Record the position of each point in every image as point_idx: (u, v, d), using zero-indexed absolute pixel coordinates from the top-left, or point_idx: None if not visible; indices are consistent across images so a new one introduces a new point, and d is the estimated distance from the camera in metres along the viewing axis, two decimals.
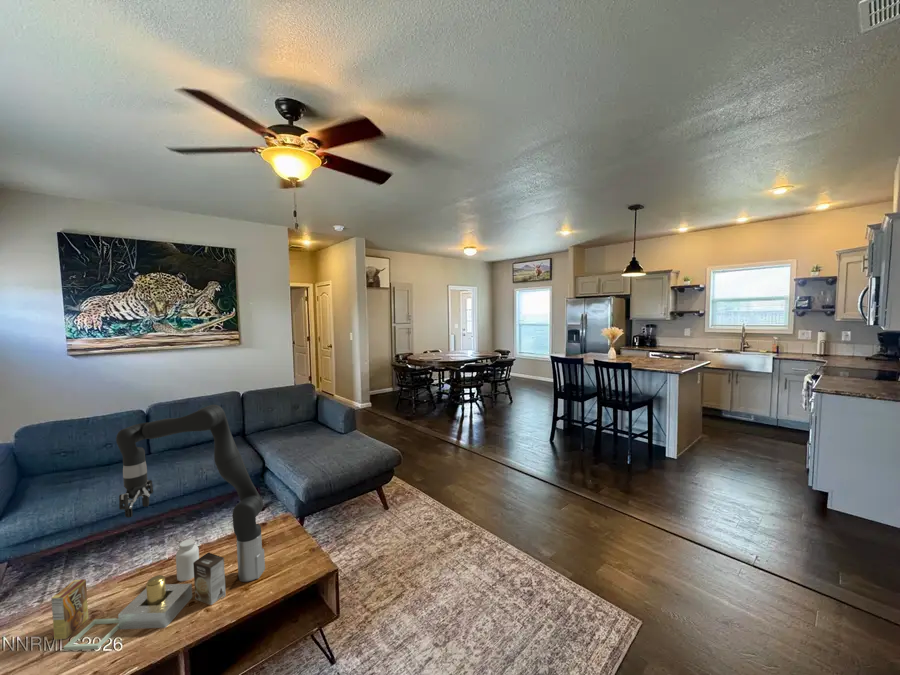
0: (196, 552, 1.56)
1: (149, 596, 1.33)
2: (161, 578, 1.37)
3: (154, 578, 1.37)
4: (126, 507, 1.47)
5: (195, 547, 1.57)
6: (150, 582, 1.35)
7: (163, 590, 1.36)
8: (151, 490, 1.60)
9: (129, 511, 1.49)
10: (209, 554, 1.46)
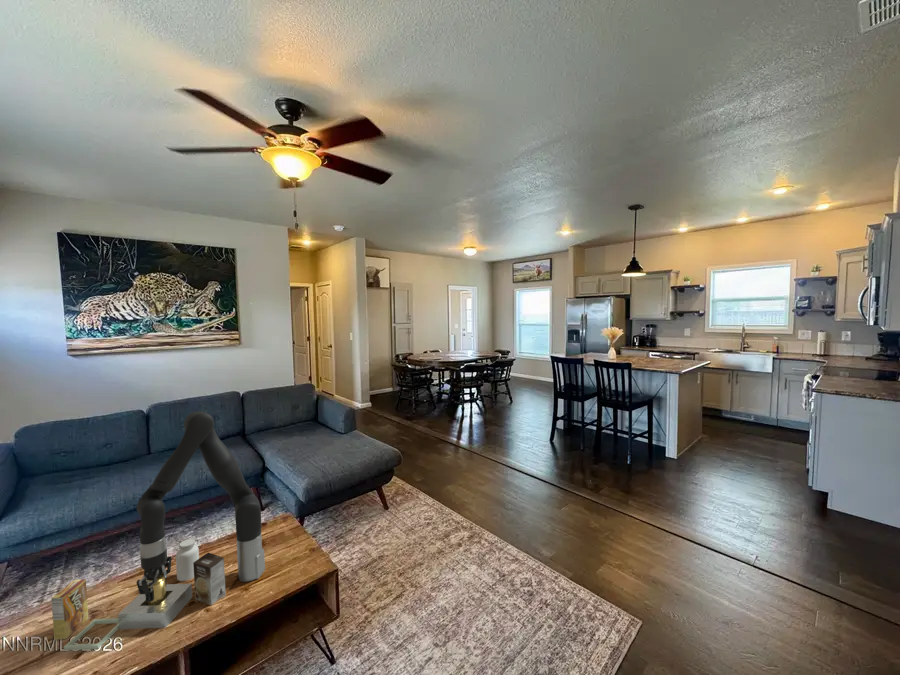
0: (196, 552, 1.56)
1: None
2: (161, 578, 1.36)
3: None
4: (147, 591, 1.31)
5: (195, 547, 1.57)
6: None
7: (163, 590, 1.36)
8: (169, 569, 1.41)
9: (150, 595, 1.32)
10: (209, 554, 1.46)
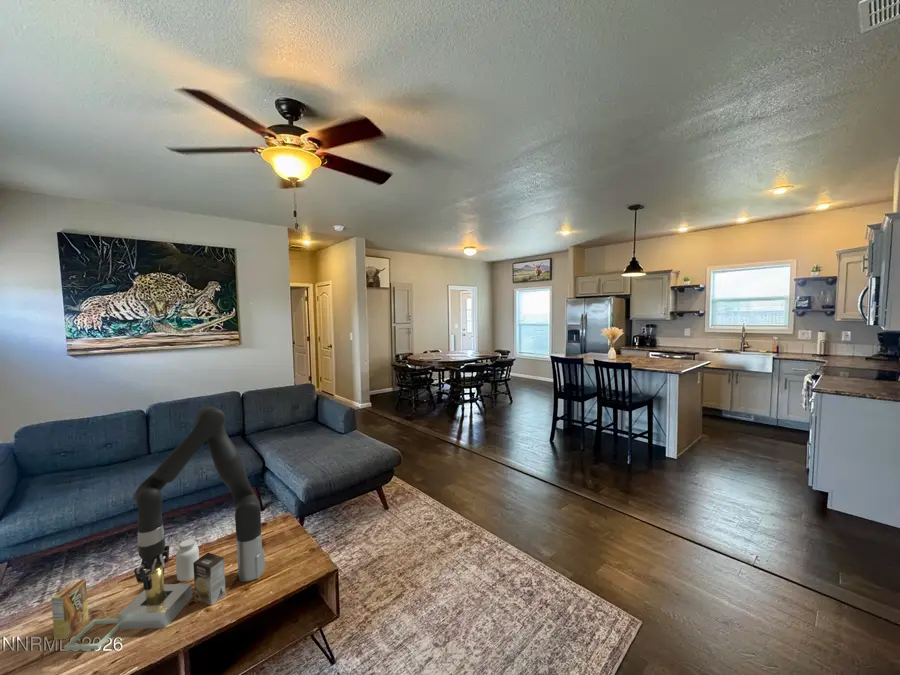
0: (196, 552, 1.56)
1: None
2: (159, 567, 1.36)
3: None
4: (145, 580, 1.30)
5: (195, 547, 1.57)
6: None
7: (161, 579, 1.36)
8: (166, 558, 1.41)
9: (148, 583, 1.32)
10: (209, 554, 1.46)
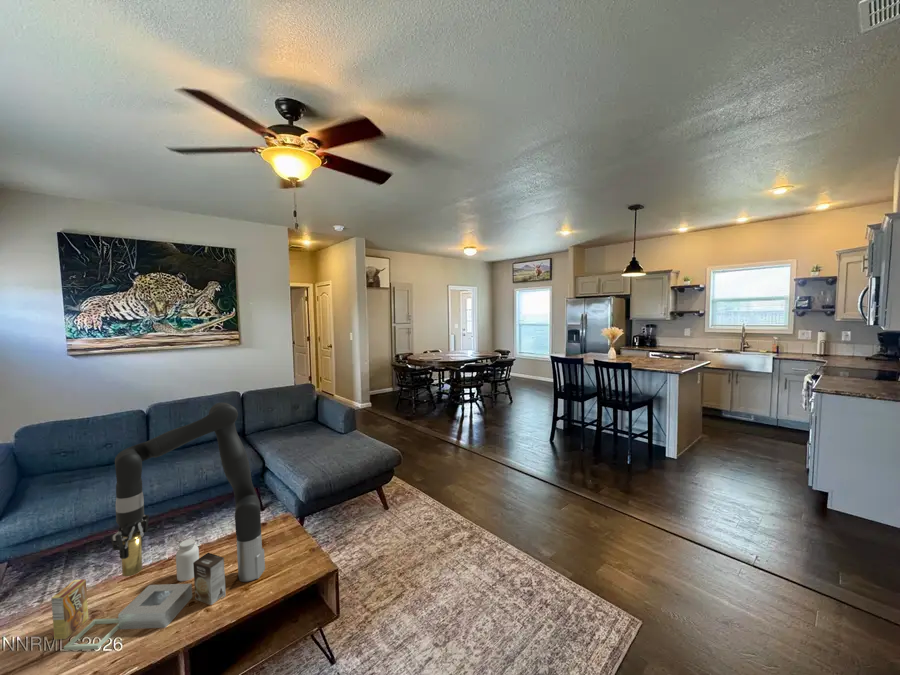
0: (196, 552, 1.56)
1: None
2: (137, 536, 1.32)
3: None
4: (121, 547, 1.26)
5: (195, 547, 1.57)
6: None
7: (138, 548, 1.31)
8: (146, 528, 1.37)
9: (124, 551, 1.28)
10: (209, 554, 1.46)
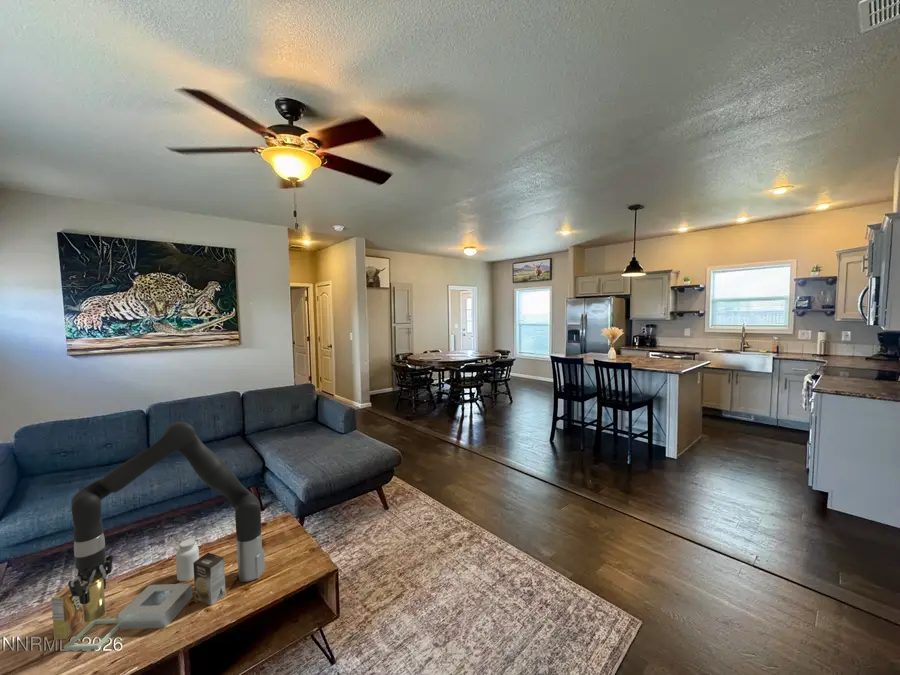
0: (196, 552, 1.56)
1: None
2: (98, 579, 1.27)
3: None
4: (80, 593, 1.21)
5: (195, 547, 1.57)
6: None
7: (100, 592, 1.26)
8: (109, 569, 1.31)
9: (85, 597, 1.23)
10: (209, 554, 1.46)
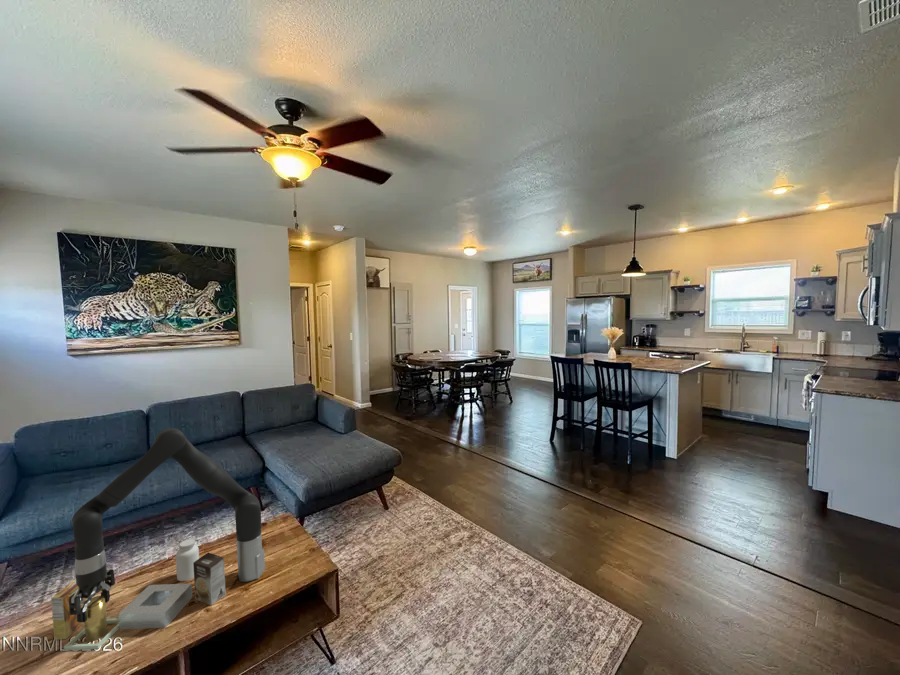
0: (196, 552, 1.56)
1: None
2: (100, 599, 1.27)
3: (93, 599, 1.27)
4: (78, 612, 1.20)
5: (195, 547, 1.57)
6: None
7: (102, 612, 1.27)
8: (112, 581, 1.33)
9: (82, 615, 1.22)
10: (209, 554, 1.46)
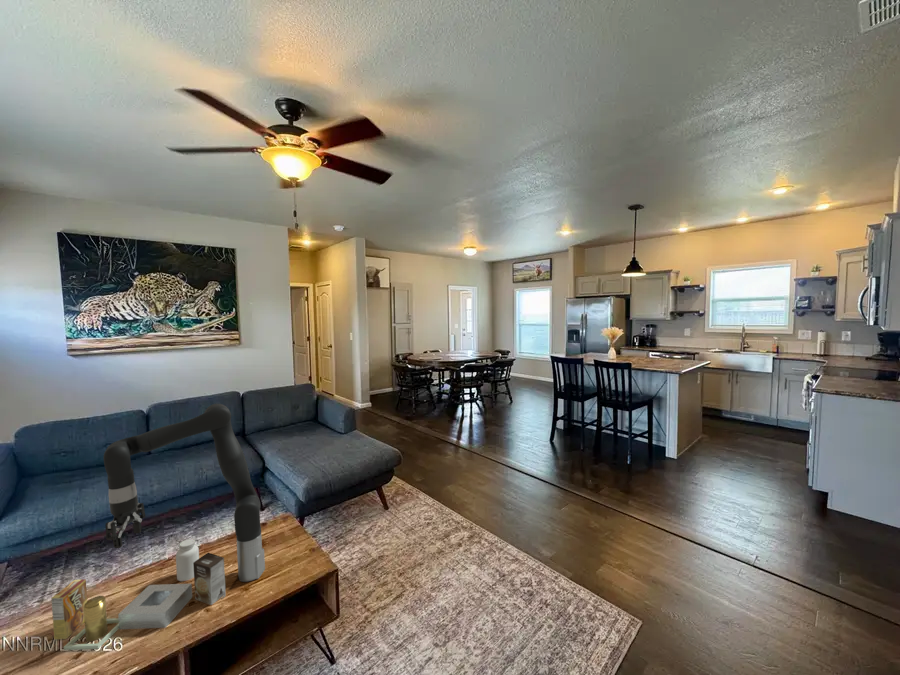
0: (196, 552, 1.56)
1: (86, 619, 1.24)
2: (101, 599, 1.27)
3: (93, 599, 1.27)
4: (114, 537, 1.27)
5: (195, 547, 1.57)
6: (88, 604, 1.25)
7: (102, 613, 1.27)
8: (143, 514, 1.40)
9: (118, 541, 1.29)
10: (209, 554, 1.46)
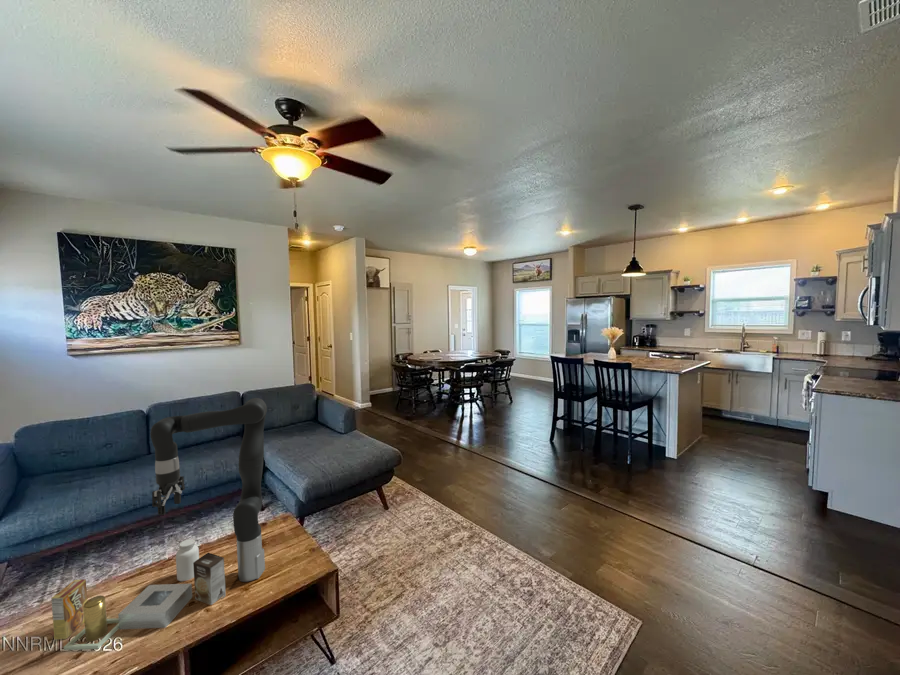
0: (196, 552, 1.56)
1: (86, 619, 1.24)
2: (100, 599, 1.27)
3: (93, 599, 1.27)
4: (159, 504, 1.39)
5: (195, 547, 1.57)
6: (88, 603, 1.25)
7: (102, 612, 1.27)
8: (183, 487, 1.52)
9: (162, 508, 1.41)
10: (209, 554, 1.46)
